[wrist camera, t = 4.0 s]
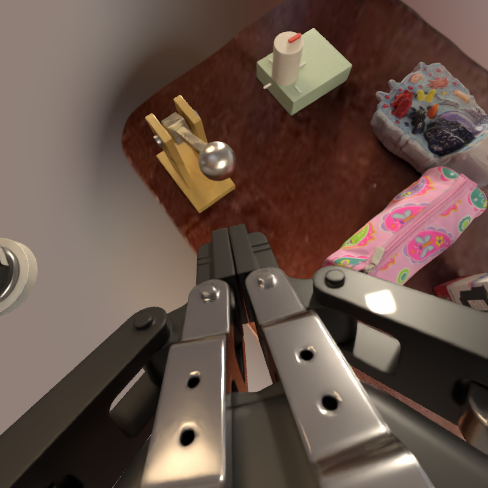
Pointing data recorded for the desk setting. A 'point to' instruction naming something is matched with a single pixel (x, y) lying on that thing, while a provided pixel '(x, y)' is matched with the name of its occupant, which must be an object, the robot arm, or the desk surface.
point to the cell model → (433, 123)
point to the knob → (286, 58)
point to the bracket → (188, 160)
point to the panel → (307, 73)
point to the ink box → (466, 291)
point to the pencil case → (413, 227)
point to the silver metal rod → (202, 149)
